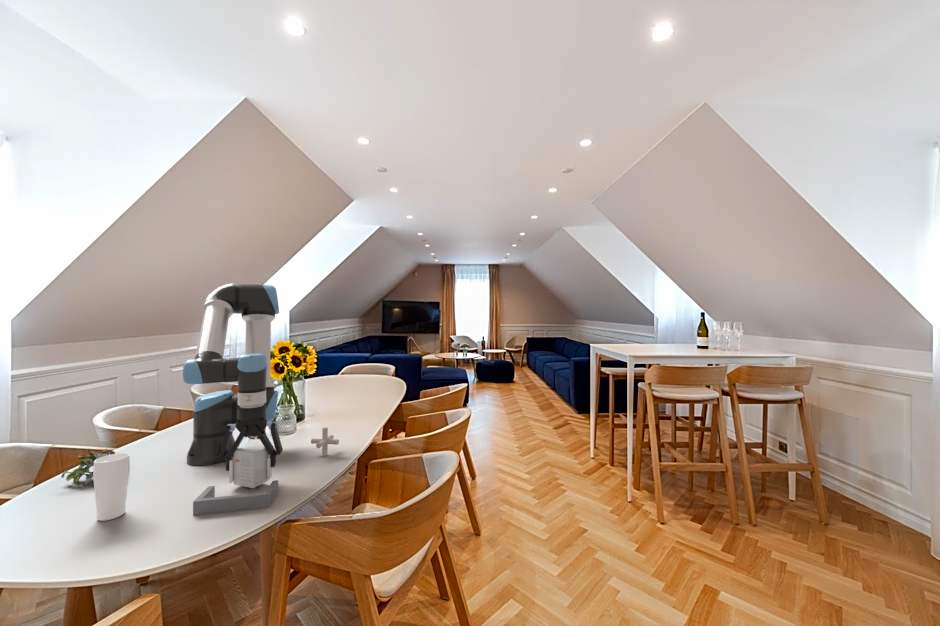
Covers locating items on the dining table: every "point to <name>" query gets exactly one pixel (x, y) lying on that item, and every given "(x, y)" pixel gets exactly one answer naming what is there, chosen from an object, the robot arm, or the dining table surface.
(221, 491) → the dining table surface
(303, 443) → the dining table surface
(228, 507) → the square bracket
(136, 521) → the dining table surface
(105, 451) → the green leafy plant
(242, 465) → the small box
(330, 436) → the pipe connector
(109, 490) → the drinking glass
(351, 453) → the dining table surface
